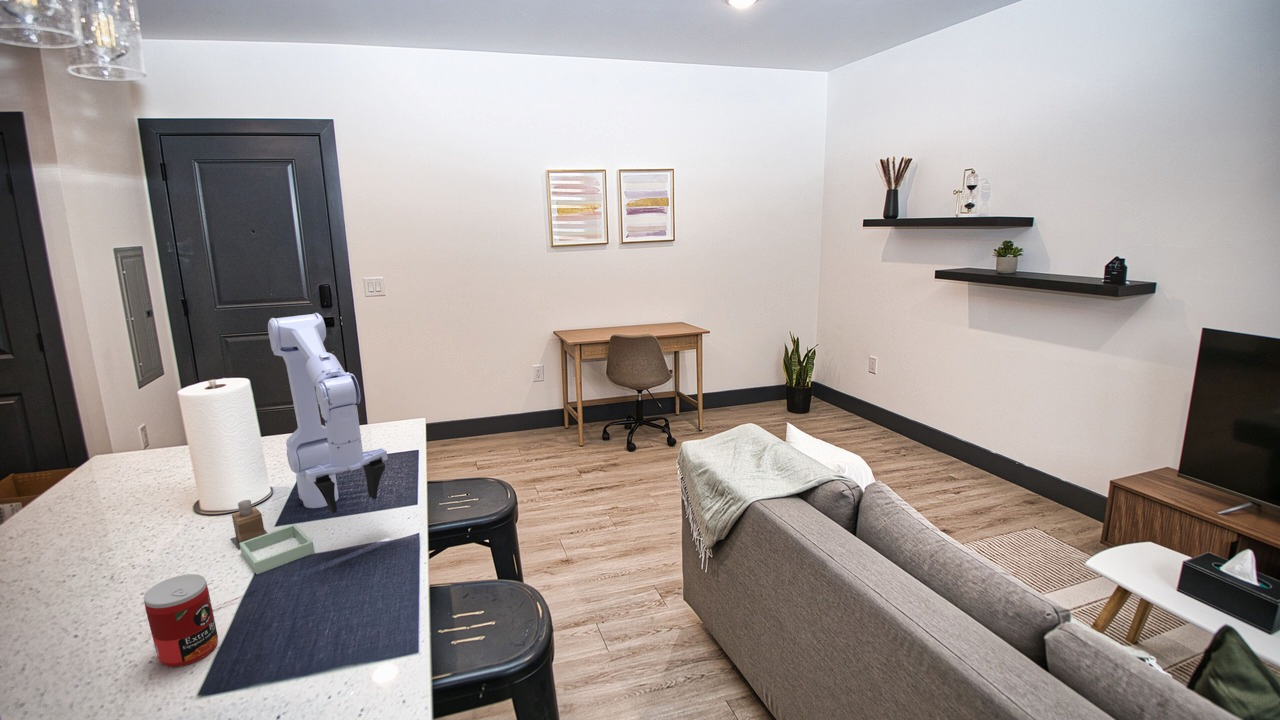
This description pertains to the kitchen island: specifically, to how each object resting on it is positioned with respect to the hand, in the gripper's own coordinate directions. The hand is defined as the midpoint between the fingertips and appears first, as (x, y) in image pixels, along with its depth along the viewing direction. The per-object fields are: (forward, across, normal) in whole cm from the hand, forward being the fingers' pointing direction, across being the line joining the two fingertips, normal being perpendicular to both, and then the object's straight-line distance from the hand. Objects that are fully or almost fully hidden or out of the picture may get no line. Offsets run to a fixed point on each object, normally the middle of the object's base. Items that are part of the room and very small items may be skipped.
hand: (353, 504), depth 122 cm
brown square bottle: (+9, -14, +18) cm, 25 cm away
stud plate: (+10, -14, +18) cm, 25 cm away
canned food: (+10, -30, -9) cm, 33 cm away
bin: (+10, -12, +8) cm, 18 cm away
